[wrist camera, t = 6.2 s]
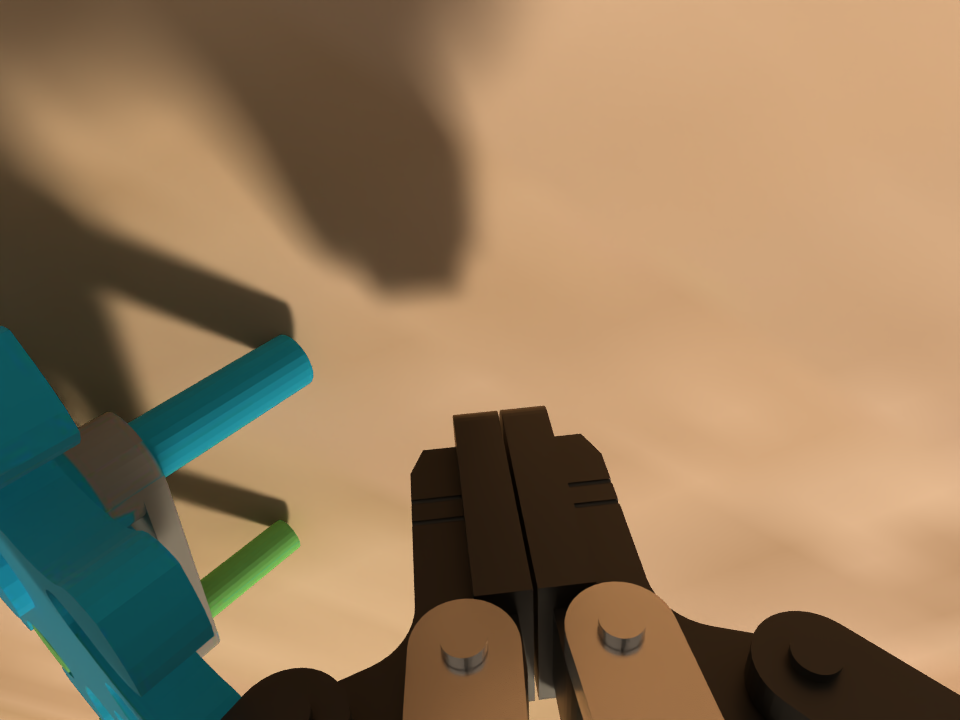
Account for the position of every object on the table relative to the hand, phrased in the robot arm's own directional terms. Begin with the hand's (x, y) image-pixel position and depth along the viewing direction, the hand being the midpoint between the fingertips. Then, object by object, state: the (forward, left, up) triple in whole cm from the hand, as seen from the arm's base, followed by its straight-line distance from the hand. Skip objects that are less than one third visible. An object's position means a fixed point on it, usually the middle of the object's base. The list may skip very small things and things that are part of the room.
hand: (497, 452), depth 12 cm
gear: (0, -7, -3) cm, 7 cm away
